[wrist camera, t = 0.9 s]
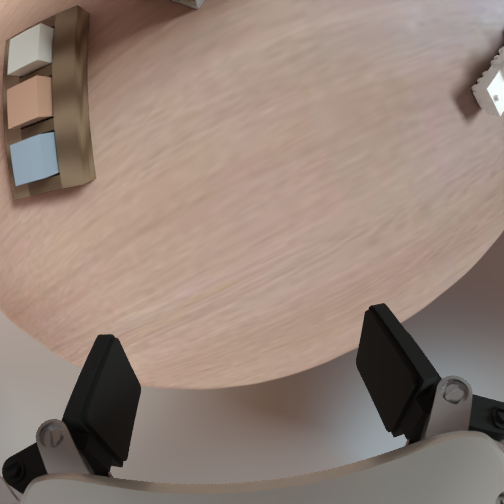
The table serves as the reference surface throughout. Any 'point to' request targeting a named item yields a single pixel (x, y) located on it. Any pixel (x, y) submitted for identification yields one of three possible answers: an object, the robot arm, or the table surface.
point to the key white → (31, 50)
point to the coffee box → (190, 3)
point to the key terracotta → (30, 102)
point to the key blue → (34, 158)
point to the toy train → (492, 86)
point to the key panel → (59, 106)
